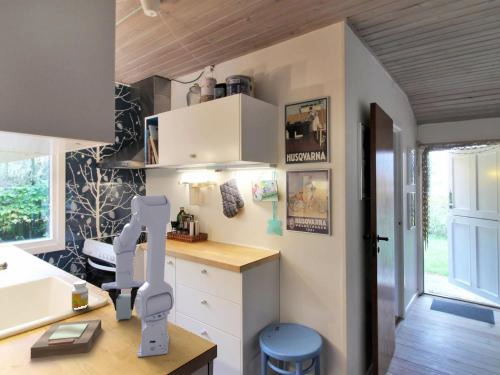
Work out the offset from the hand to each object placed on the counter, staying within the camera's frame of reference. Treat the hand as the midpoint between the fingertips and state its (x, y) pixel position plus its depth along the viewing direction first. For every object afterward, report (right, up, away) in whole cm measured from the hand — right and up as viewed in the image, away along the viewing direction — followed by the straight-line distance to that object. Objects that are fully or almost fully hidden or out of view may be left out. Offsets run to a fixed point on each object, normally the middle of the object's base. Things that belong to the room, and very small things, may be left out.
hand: (124, 309), depth 103 cm
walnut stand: (-10, -3, -15) cm, 19 cm away
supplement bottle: (-20, -3, +8) cm, 22 cm away
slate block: (0, -3, 0) cm, 2 cm away
